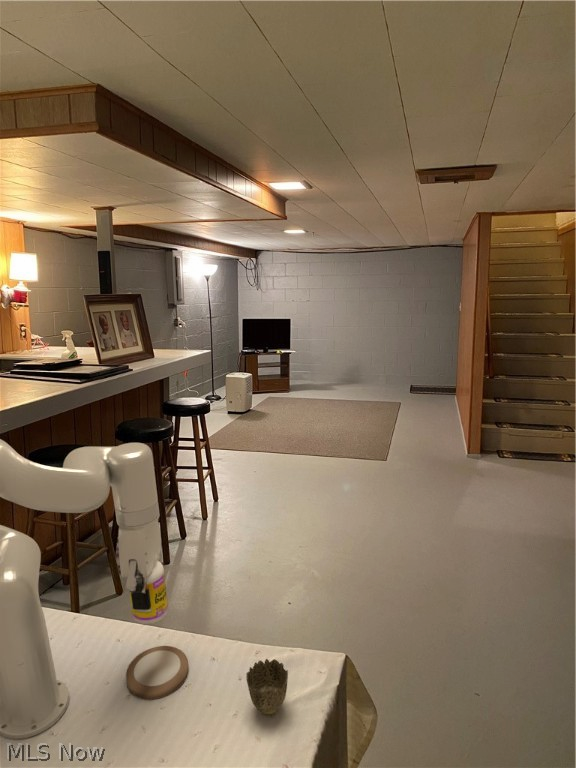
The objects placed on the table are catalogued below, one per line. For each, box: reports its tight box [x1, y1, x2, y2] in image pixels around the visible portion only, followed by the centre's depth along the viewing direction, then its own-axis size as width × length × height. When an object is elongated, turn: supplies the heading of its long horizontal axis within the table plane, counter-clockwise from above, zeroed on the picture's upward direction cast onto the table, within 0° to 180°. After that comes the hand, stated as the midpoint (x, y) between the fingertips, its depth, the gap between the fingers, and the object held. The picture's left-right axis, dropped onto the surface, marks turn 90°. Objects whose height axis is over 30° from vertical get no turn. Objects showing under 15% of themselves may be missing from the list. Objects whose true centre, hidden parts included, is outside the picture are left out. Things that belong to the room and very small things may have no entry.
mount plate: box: [125, 645, 190, 700], centre depth 111 cm, size 12×12×2 cm
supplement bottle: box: [128, 553, 169, 625], centre depth 105 cm, size 7×7×13 cm
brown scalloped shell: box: [245, 658, 289, 717], centre depth 101 cm, size 8×7×8 cm
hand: (148, 594), depth 106 cm, fingers closed on supplement bottle, 6 cm apart
